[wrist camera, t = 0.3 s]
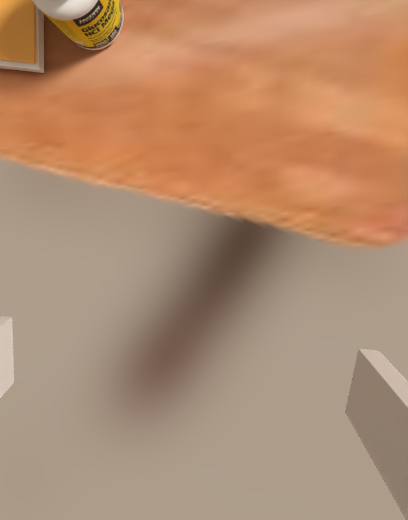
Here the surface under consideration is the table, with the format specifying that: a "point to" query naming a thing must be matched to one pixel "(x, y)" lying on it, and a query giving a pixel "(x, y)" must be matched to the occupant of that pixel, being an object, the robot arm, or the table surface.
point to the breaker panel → (21, 36)
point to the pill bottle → (85, 20)
